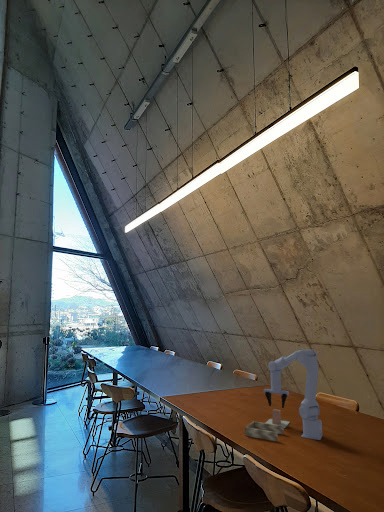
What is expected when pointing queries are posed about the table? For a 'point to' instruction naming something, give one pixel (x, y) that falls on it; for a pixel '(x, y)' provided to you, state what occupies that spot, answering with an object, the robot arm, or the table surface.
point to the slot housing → (264, 430)
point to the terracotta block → (276, 416)
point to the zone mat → (283, 423)
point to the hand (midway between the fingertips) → (276, 406)
